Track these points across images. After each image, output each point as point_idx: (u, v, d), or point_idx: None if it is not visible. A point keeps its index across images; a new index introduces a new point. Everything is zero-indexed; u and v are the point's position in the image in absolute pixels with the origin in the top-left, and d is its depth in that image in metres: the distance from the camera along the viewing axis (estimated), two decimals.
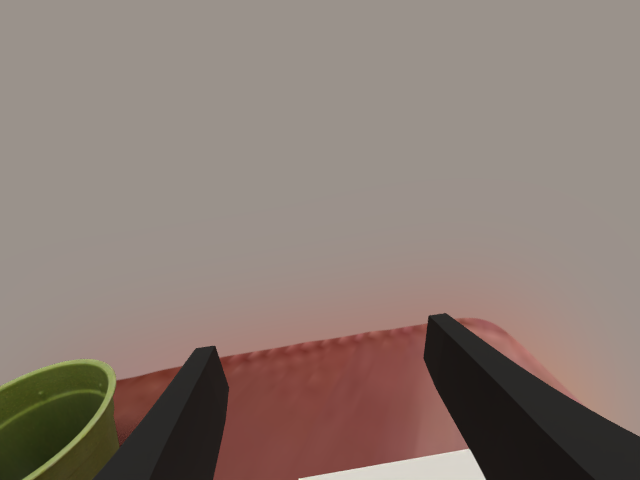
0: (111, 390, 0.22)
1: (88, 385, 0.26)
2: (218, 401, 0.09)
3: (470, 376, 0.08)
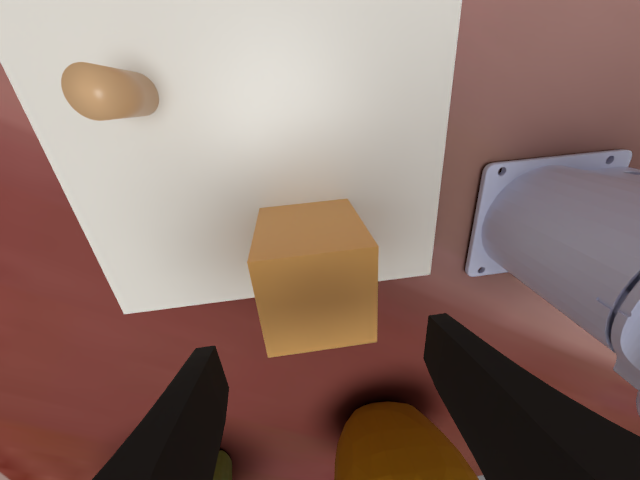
0: None
1: None
2: (218, 401, 0.09)
3: (470, 376, 0.08)
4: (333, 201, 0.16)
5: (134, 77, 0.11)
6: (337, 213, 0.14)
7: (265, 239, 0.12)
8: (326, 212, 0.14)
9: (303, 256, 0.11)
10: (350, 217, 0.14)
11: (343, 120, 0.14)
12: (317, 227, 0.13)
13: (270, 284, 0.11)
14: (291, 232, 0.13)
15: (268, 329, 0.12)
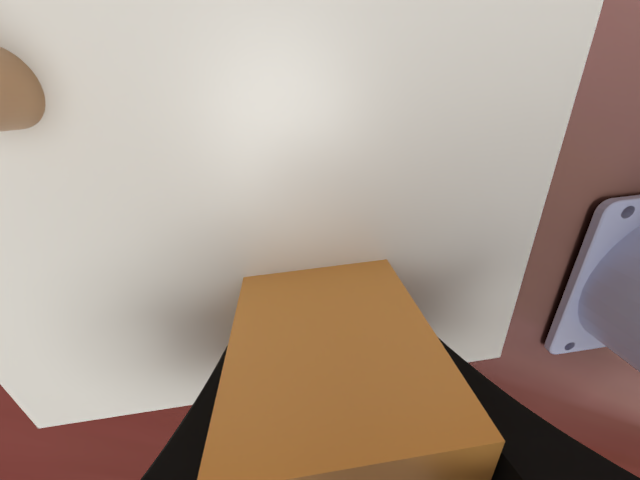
0: None
1: None
2: None
3: None
4: (364, 266, 0.10)
5: None
6: (378, 300, 0.08)
7: (246, 384, 0.06)
8: (358, 297, 0.08)
9: (330, 472, 0.04)
10: (405, 314, 0.07)
11: (388, 135, 0.08)
12: (348, 346, 0.07)
13: None
14: (297, 359, 0.06)
15: None
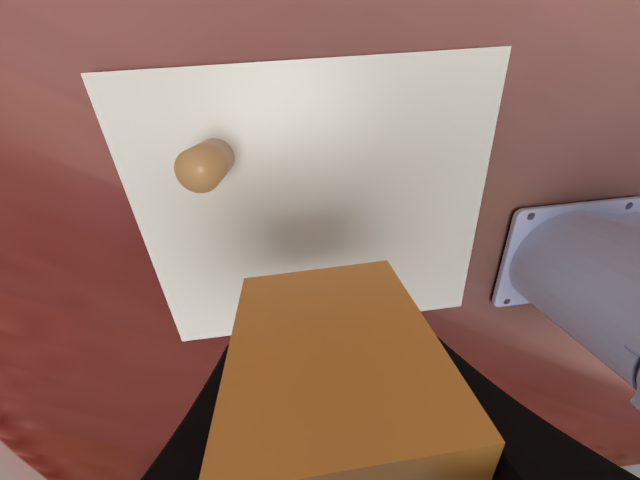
0: None
1: None
2: None
3: None
4: (365, 266, 0.10)
5: (222, 149, 0.13)
6: (378, 301, 0.08)
7: (247, 385, 0.06)
8: (359, 299, 0.08)
9: (332, 474, 0.04)
10: (405, 315, 0.08)
11: (393, 176, 0.16)
12: (348, 347, 0.07)
13: None
14: (298, 360, 0.06)
15: None
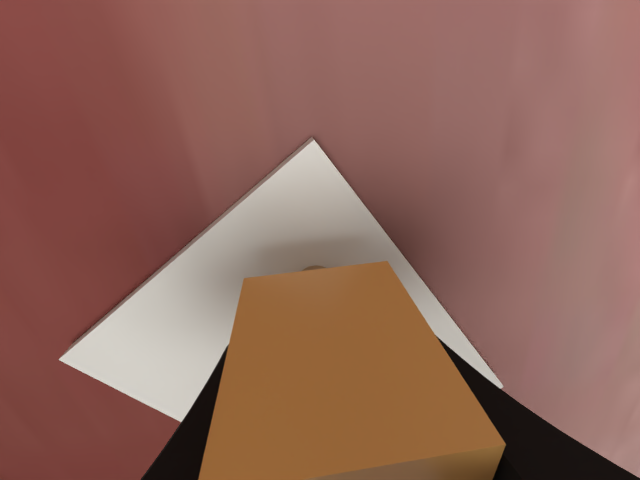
0: None
1: None
2: None
3: None
4: (365, 267, 0.10)
5: None
6: (378, 302, 0.08)
7: (247, 385, 0.06)
8: (359, 299, 0.08)
9: (331, 475, 0.04)
10: (405, 316, 0.07)
11: None
12: (349, 348, 0.07)
13: None
14: (298, 361, 0.06)
15: None
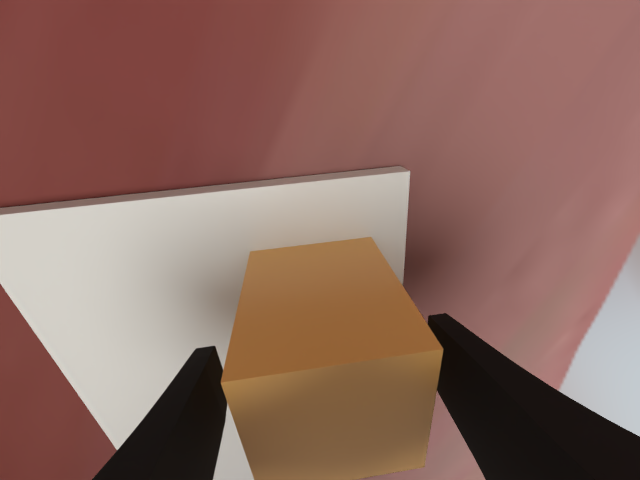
0: None
1: None
2: (218, 401, 0.09)
3: (470, 376, 0.08)
4: (352, 241, 0.12)
5: None
6: (360, 266, 0.10)
7: (255, 321, 0.08)
8: (345, 264, 0.10)
9: (317, 369, 0.06)
10: (381, 274, 0.09)
11: None
12: (334, 296, 0.08)
13: (261, 409, 0.07)
14: (294, 305, 0.08)
15: (259, 464, 0.08)
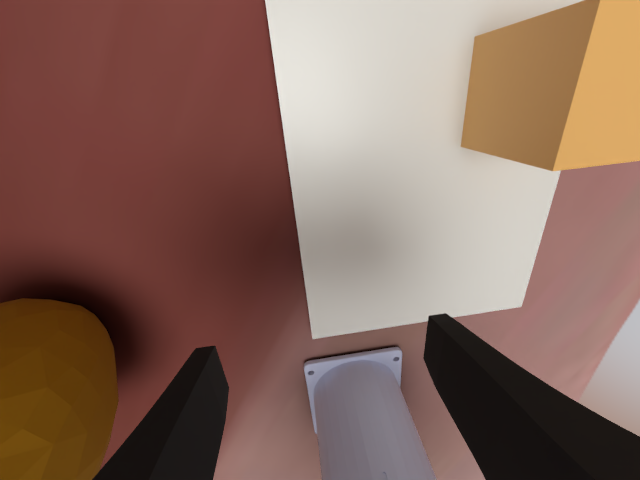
0: None
1: None
2: (218, 401, 0.09)
3: (470, 376, 0.08)
4: None
5: None
6: None
7: None
8: None
9: None
10: None
11: (456, 253, 0.19)
12: None
13: (610, 39, 0.09)
14: None
15: (573, 122, 0.10)
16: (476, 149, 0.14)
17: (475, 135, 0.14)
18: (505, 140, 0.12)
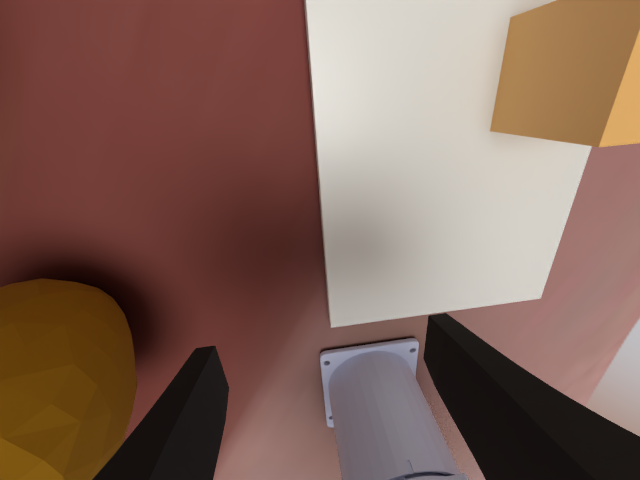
0: None
1: None
2: (218, 401, 0.09)
3: (470, 376, 0.08)
4: None
5: None
6: None
7: None
8: None
9: None
10: None
11: (479, 241, 0.19)
12: None
13: None
14: None
15: (623, 95, 0.09)
16: (508, 132, 0.14)
17: (507, 118, 0.14)
18: (543, 120, 0.12)
